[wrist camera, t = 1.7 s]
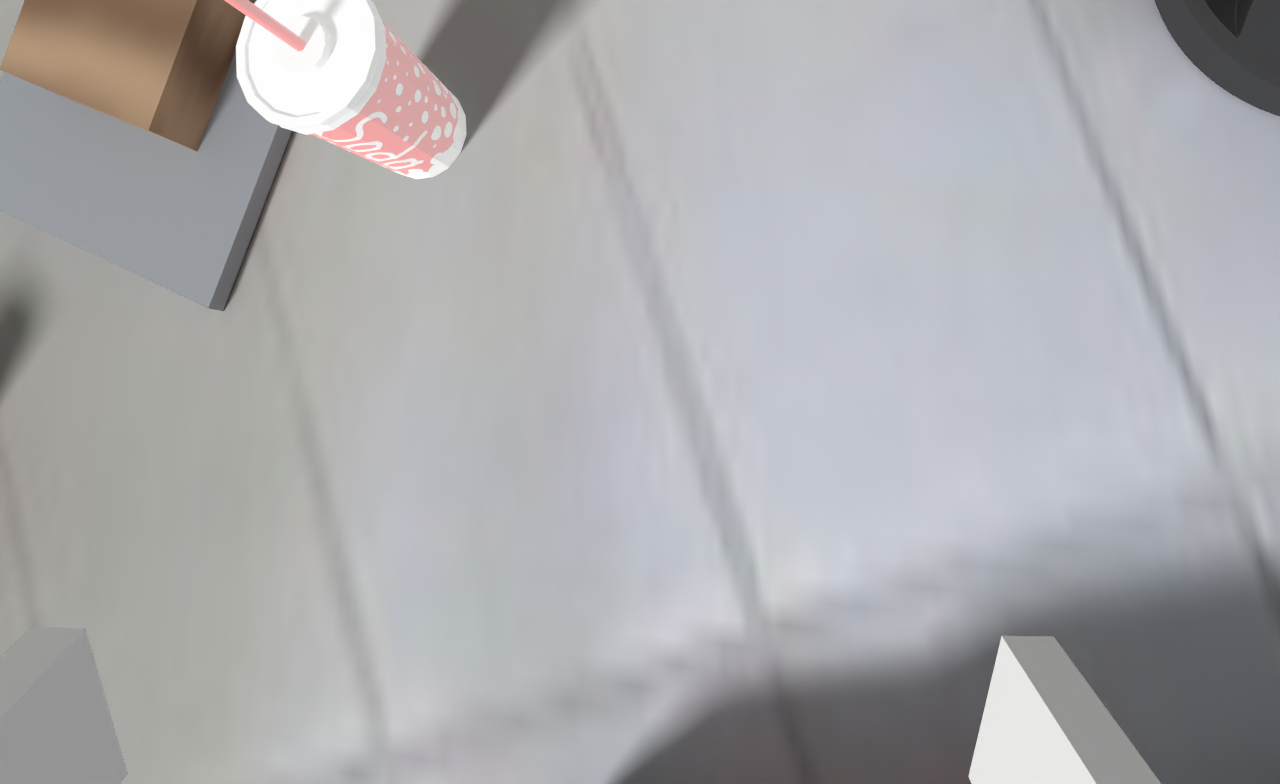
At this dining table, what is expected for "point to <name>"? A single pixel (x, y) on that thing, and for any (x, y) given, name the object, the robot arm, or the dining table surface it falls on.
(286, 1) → the beverage cup
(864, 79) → the dining table surface
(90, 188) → the base board
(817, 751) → the dining table surface
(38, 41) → the walnut pedestal
